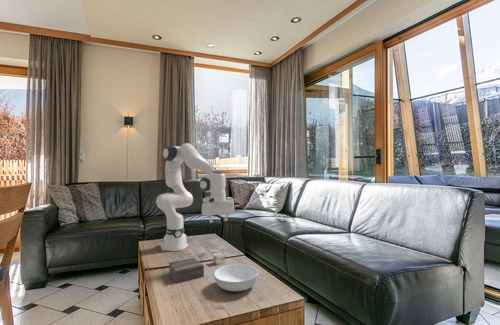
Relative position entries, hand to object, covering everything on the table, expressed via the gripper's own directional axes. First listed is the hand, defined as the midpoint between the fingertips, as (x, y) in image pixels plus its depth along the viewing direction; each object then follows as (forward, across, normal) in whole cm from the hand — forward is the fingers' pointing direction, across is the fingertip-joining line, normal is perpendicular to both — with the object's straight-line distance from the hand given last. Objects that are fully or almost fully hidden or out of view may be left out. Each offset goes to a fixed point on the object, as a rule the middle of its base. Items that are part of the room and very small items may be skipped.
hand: (218, 221), depth 157 cm
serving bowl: (+25, +7, +32) cm, 41 cm away
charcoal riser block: (+25, +22, +6) cm, 34 cm away
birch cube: (+24, 0, 0) cm, 24 cm away
